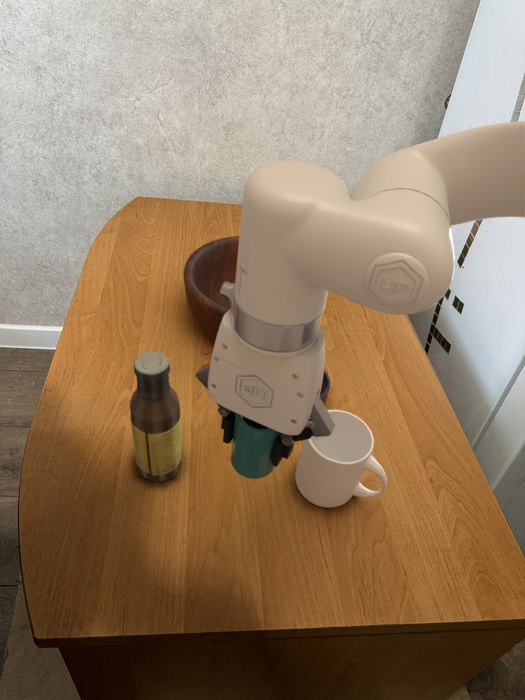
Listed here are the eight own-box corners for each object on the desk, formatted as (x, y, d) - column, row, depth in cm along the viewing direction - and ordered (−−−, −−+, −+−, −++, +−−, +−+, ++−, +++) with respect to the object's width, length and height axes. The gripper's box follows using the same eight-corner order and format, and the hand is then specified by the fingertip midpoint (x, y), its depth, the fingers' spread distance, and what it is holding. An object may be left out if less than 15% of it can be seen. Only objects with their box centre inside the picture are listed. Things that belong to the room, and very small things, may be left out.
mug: (362, 535, 69) (384, 490, 62) (282, 489, 73) (295, 441, 65) (385, 487, 75) (408, 441, 68) (310, 447, 78) (324, 399, 71)
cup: (282, 453, 60) (293, 406, 54) (263, 486, 56) (272, 440, 51) (243, 434, 61) (250, 387, 55) (222, 466, 57) (227, 419, 52)
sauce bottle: (188, 453, 75) (191, 352, 62) (171, 489, 71) (170, 389, 57) (146, 440, 76) (140, 338, 63) (126, 476, 72) (115, 373, 58)
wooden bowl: (232, 385, 86) (237, 338, 79) (158, 300, 100) (157, 254, 93) (343, 335, 98) (356, 291, 91) (264, 266, 112) (270, 223, 105)
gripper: (166, 302, 44) (168, 436, 56) (358, 380, 40) (315, 508, 52) (211, 260, 49) (204, 392, 62) (386, 326, 45) (341, 453, 57)
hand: (255, 444), depth 57 cm, fingers closed on cup, 5 cm apart
